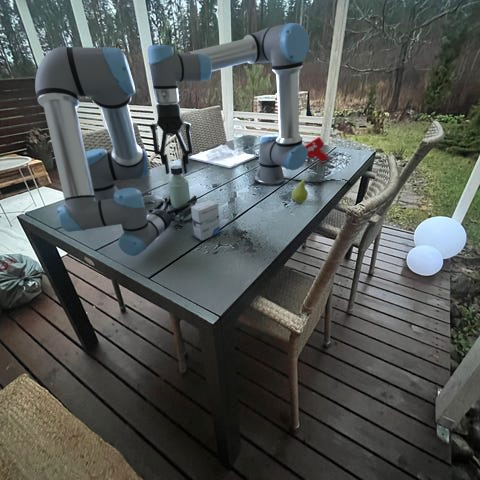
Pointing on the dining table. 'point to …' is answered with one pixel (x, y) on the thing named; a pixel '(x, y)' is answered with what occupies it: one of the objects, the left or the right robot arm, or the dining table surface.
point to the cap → (176, 170)
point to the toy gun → (316, 149)
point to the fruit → (300, 192)
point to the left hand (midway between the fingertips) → (186, 197)
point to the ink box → (205, 219)
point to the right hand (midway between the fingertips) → (176, 172)
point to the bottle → (179, 192)
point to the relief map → (223, 156)
